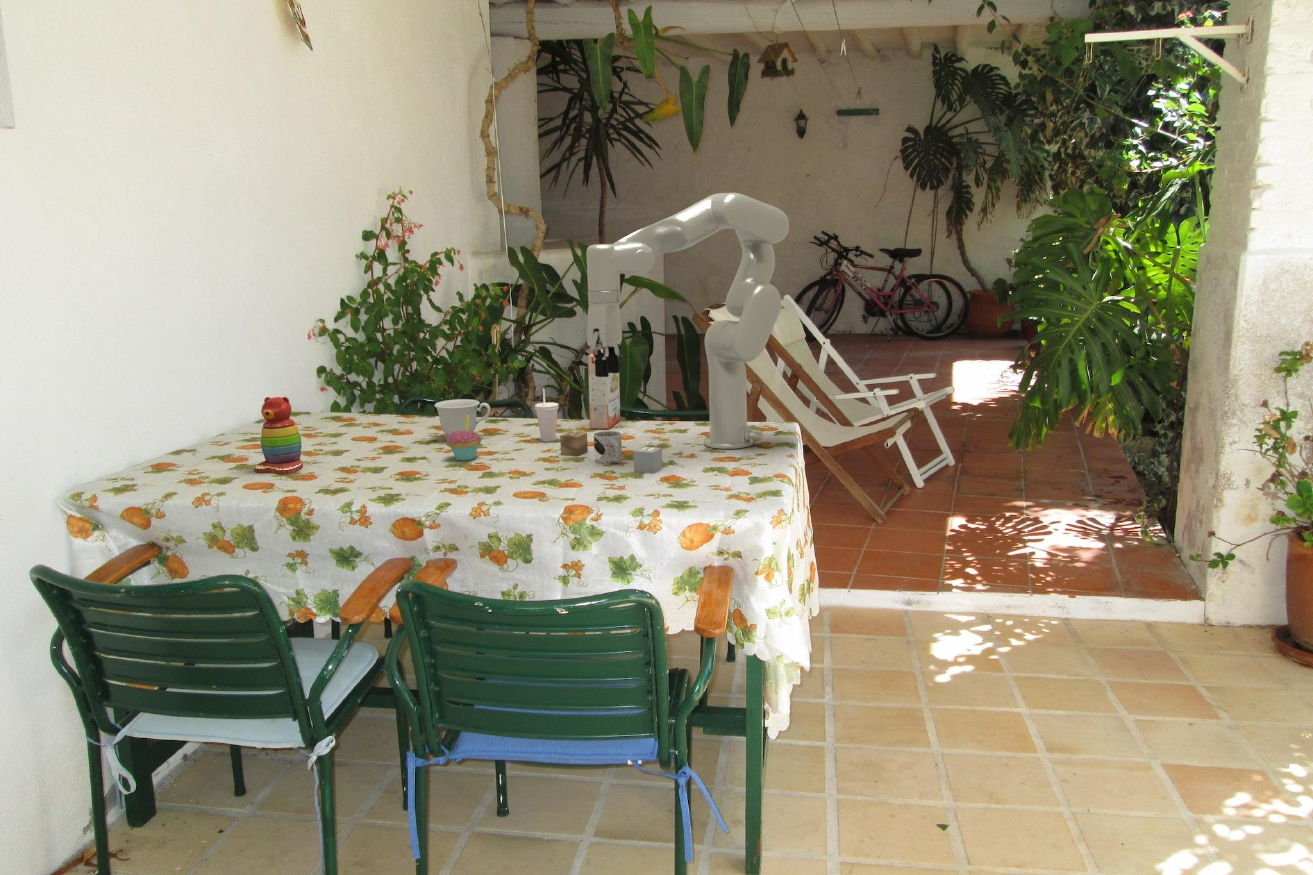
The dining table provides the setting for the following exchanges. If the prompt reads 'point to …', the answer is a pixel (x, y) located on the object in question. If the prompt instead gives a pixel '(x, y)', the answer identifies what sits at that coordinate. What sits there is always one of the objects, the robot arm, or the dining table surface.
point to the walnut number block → (573, 443)
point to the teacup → (459, 414)
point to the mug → (607, 447)
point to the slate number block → (647, 459)
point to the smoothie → (547, 419)
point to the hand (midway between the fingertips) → (607, 374)
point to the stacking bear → (279, 437)
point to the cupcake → (464, 443)
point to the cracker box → (603, 398)
